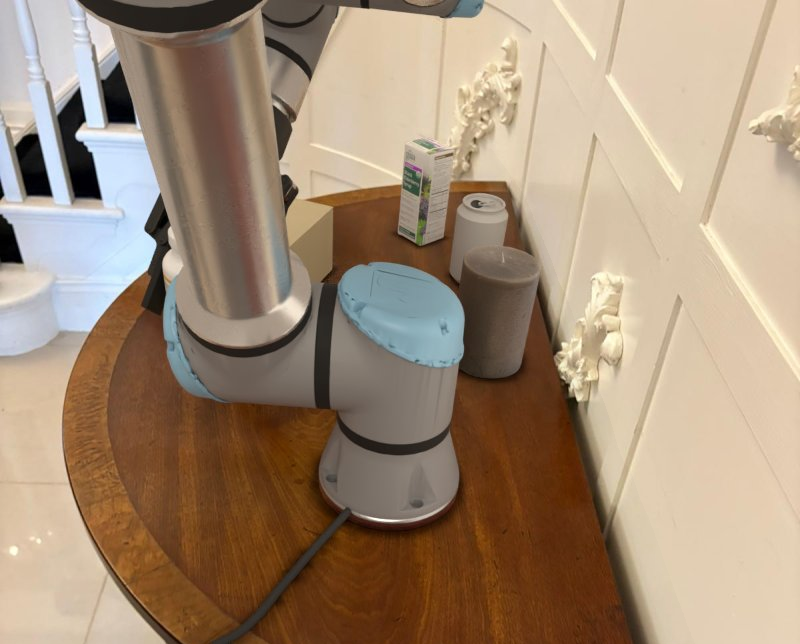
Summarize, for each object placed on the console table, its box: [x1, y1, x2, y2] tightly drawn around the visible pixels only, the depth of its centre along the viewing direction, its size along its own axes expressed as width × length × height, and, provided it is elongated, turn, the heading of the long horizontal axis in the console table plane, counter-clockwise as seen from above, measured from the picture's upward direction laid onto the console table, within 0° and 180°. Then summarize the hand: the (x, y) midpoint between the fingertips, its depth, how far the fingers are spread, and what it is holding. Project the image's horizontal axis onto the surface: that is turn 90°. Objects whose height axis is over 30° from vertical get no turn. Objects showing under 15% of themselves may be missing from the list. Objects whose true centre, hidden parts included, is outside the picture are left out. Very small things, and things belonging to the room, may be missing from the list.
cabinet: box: [286, 197, 334, 283], centre depth 113 cm, size 15×14×10 cm
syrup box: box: [397, 136, 456, 247], centre depth 125 cm, size 6×6×14 cm
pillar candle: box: [457, 245, 543, 379], centre depth 100 cm, size 10×10×15 cm
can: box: [449, 192, 509, 284], centre depth 117 cm, size 8×8×12 cm
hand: (180, 321), depth 81 cm, fingers closed on supplement bottle, 7 cm apart
